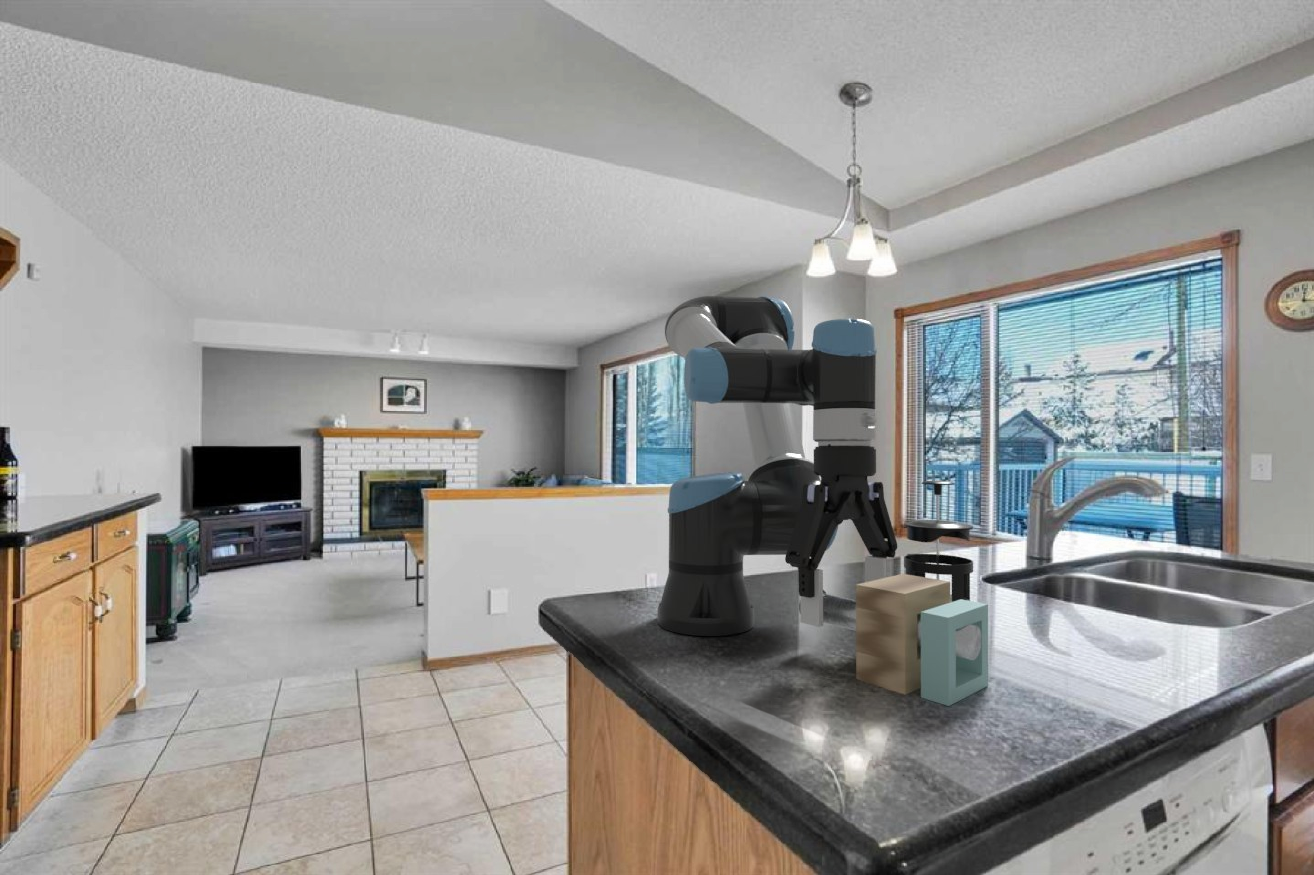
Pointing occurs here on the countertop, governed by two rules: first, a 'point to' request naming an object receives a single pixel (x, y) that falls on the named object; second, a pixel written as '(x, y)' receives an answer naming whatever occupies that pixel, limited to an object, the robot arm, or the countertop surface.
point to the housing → (893, 628)
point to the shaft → (967, 637)
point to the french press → (929, 533)
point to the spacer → (952, 652)
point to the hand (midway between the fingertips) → (845, 615)
